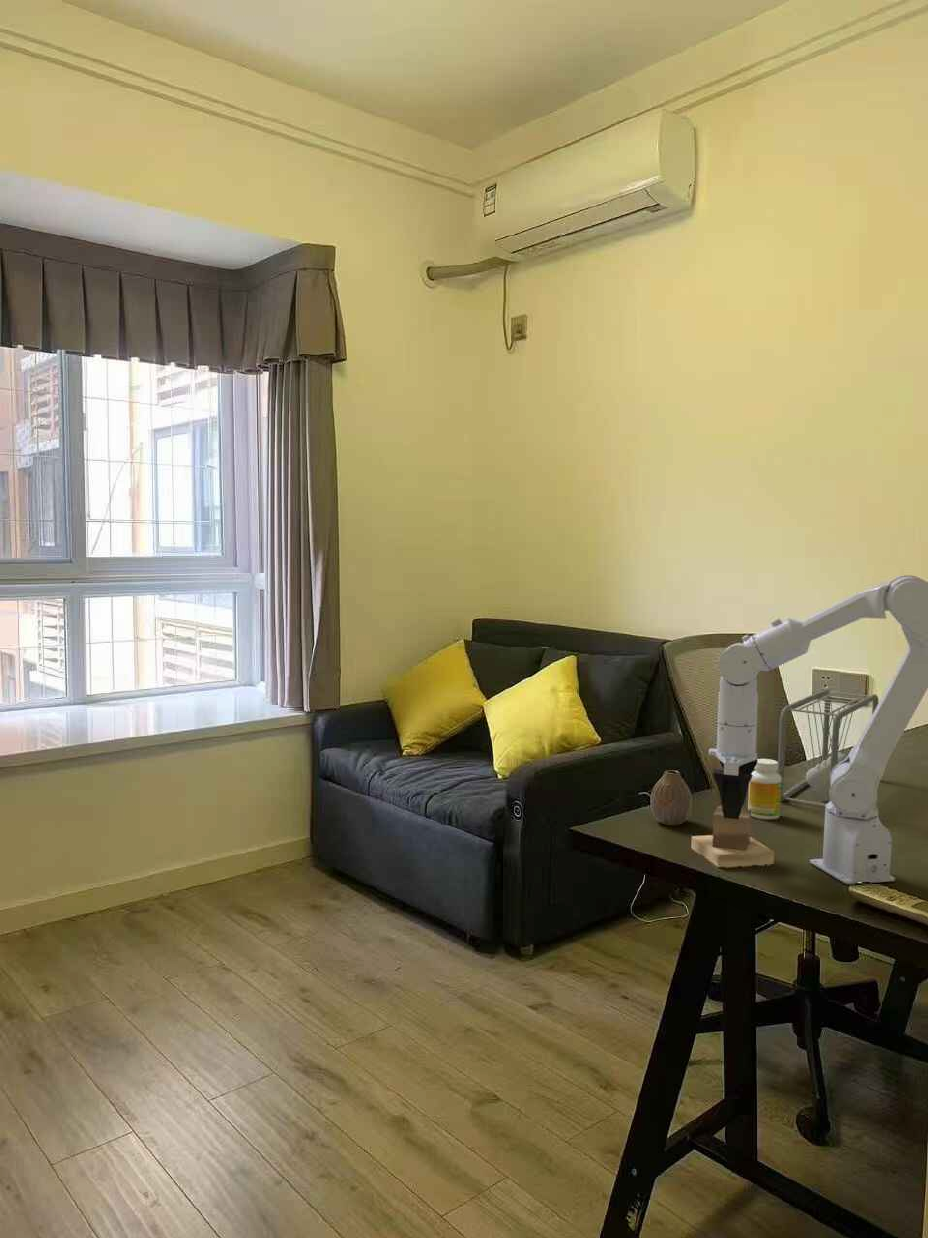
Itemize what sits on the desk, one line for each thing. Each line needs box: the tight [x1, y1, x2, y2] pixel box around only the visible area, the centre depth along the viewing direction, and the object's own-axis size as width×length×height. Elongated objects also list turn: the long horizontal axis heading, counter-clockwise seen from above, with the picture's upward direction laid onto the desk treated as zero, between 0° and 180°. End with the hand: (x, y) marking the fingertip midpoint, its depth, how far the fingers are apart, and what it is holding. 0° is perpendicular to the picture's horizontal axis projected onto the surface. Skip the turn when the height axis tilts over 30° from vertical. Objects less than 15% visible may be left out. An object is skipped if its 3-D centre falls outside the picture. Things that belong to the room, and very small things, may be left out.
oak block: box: [691, 834, 775, 868], centre depth 150 cm, size 9×9×2 cm
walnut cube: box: [712, 805, 752, 851], centre depth 150 cm, size 5×5×5 cm
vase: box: [649, 769, 693, 826], centre depth 167 cm, size 7×7×9 cm
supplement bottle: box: [747, 758, 782, 820], centre depth 172 cm, size 5×5×10 cm
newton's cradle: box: [777, 688, 880, 807], centre depth 189 cm, size 30×10×18 cm, turn 144°
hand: (733, 811), depth 149 cm, fingers open, 7 cm apart
